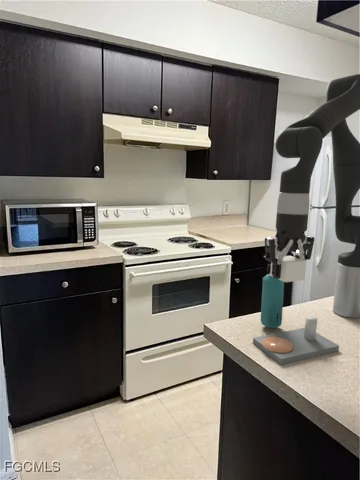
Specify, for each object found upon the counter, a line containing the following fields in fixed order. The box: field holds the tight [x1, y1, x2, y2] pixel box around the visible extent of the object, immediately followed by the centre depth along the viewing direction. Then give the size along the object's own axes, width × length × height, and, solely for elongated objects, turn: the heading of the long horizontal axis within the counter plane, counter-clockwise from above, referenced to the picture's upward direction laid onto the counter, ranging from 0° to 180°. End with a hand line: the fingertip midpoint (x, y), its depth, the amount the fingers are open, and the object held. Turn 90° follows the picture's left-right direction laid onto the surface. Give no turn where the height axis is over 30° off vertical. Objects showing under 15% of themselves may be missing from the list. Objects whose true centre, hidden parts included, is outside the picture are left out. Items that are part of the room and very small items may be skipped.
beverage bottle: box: [260, 263, 285, 328], centre depth 103 cm, size 6×7×20 cm
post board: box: [252, 315, 340, 365], centre depth 93 cm, size 19×12×8 cm, turn 112°
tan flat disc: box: [262, 337, 293, 353], centre depth 91 cm, size 8×8×1 cm
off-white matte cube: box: [269, 255, 307, 283], centre depth 87 cm, size 6×6×5 cm
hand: (286, 276), depth 88 cm, fingers closed on off-white matte cube, 6 cm apart
